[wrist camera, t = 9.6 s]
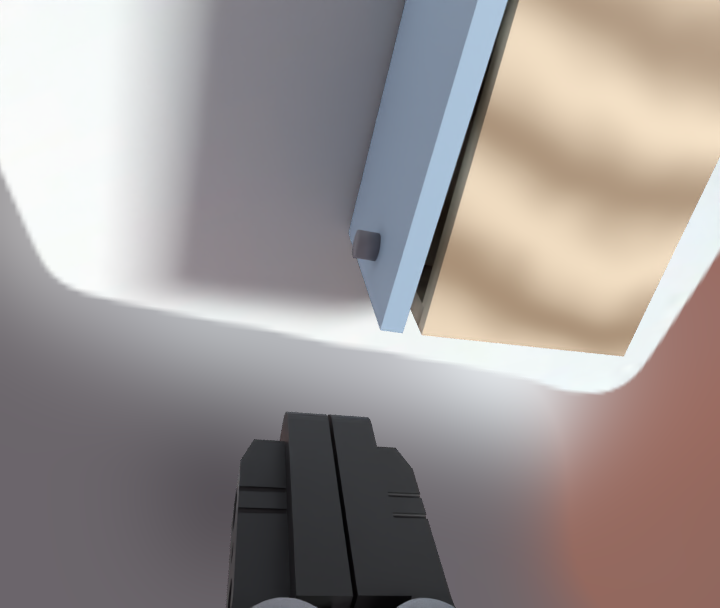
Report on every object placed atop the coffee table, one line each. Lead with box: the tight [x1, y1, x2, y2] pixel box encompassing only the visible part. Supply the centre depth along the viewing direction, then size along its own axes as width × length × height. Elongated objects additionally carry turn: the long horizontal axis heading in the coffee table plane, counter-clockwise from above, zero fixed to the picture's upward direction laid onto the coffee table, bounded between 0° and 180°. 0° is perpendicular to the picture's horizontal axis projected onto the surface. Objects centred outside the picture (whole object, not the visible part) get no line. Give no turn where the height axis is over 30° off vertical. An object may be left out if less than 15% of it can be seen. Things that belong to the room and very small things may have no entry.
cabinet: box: [410, 0, 720, 356], centre depth 33 cm, size 20×12×14 cm, turn 168°
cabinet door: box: [349, 0, 508, 333], centre depth 31 cm, size 21×2×13 cm, turn 166°
